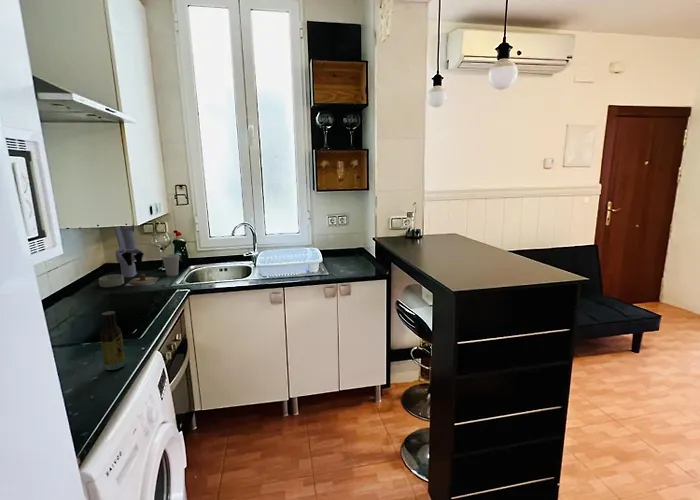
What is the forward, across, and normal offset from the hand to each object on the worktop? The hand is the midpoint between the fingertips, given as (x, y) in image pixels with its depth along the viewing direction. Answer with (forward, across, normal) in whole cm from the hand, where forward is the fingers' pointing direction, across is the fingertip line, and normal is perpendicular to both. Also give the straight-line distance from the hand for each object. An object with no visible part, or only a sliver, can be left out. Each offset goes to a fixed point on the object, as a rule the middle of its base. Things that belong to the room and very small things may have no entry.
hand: (135, 265), depth 225 cm
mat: (+10, +6, +2) cm, 12 cm away
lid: (+10, +6, +2) cm, 11 cm away
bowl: (+8, -2, +16) cm, 18 cm away
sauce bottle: (+50, -82, -51) cm, 108 cm away
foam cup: (+9, +22, -7) cm, 25 cm away
